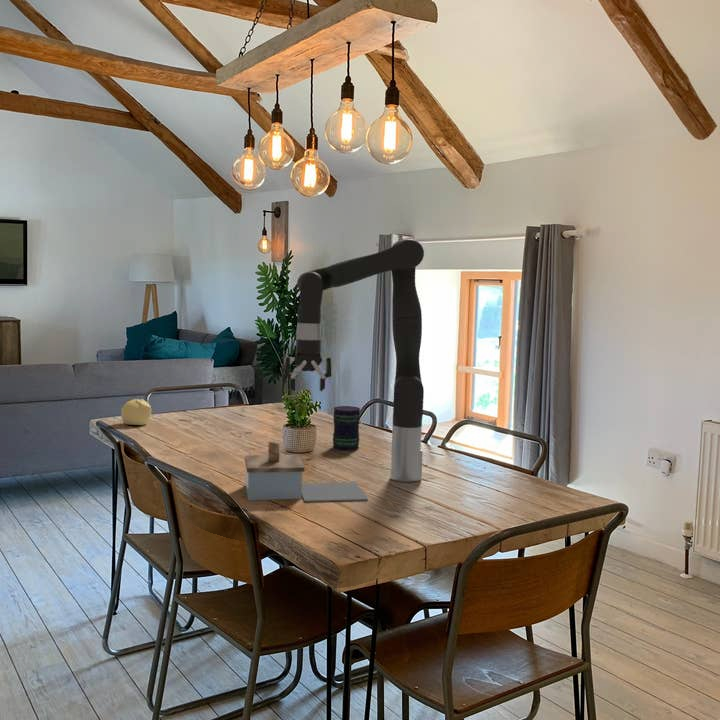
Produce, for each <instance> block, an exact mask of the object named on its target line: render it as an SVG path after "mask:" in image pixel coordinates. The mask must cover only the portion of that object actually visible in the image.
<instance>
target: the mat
mask: <svg viewBox="0 0 720 720" xmlns="http://www.w3.org/2000/svg"><path fill="white" fill-rule="evenodd" d="M301 498H302V499H303V501H304V503H328V502H334V503H335V502H365V501H367V502H368V500H369V499H368V497H367V496H366V495H365V493H364V491H363V490H362V488H360V486H359V485H358V483H357V482H355V481H354V482H353V481H352V482H351V481H350V482H310V483H309V482H308V483H307V482H304V483H303V482H302V495H301Z"/></svg>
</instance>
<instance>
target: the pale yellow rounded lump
mask: <svg viewBox="0 0 720 720" xmlns="http://www.w3.org/2000/svg"><path fill="white" fill-rule="evenodd" d="M152 411H153V410H152V406H151V405H150V404H149V402H147V401H146V400H145V399H143V398H139V399H138V398H133V399H132V400H129V401H126V403H124V404H123V406H122V408H121V413H120V414H121V416H120V417H121V420H122V422H123V423H124V424H125V425H132V426H145V425H146V424H147V423H148V422H150V420H151V416H152Z"/></svg>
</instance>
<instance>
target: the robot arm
mask: <svg viewBox="0 0 720 720" xmlns="http://www.w3.org/2000/svg"><path fill="white" fill-rule="evenodd" d="M424 255H425V251H424V247H423V246H422V244H421V243H420V242H419V241H417V240H415V239H414V238H413V239H411V238H405V239H399V240H398V241H397V240H396V242H394V244H392V245H391V247H389V248H386V249H385V250H380V251H378V252H376V253H372V254H367V255H364V256H358V257H354V258H351V259H347V260H343V261H340V262H337V263H334V264H331V265H329V266H326V267H321V268H318V269H312V270H310V271H305V272H303V273H302V274H300V275H299V277H298V278H297V282H296V283H297V284H296V285H297V288H298V290H299V305H298V309H297V325H296V339H295V356H294V357H292V356H285V358H284V370H283V375H284V376H285V377H287V378H289V388H290V389H291V391H292V392H296V379H295V378H296V377H297V376H298V375H299V373H300V372H314V371H315V372H317V374H318V375H319V377H320V378H319V391H320V392H323V390H325V389H326V379H328V378H330V377H332V358H331V357H329V356H326V357H322V355H321V354H322V353H321V351H322V348H321V347H322V346H321V345H322V324H321V322H322V321H321V319H322V307H321V306H322V300H323V293H324V291H326V290H328V289H332V288H339V287H343V286H345V285H346V286H347V285H350V284H353V283H355V282H359V281H361V280H364V279H365V280H366V279H367V278H369V277H372V276H376V275H379V274H383V273H387V272H390V271H391V279H392V280H391V281H392V297H391V298H392V299H391V300H392V309H391V310H392V313H391V314H392V315H391V316H392V319H391V321H392V323H391V324H392V338H393V346H394V351H395V360H396V361H395V378H394V384H393V402H392V403H393V405H392V408H393V409H392V431H391V433H392V434H391V455H390V456H391V458H390V462H391V463H390V478H391V480H393V481H396V482H401V483H402V482H403V483H412V482H413V483H414V482H417V481H422V480H423V479H422V478H423V454H424V453H423V450H422V433H423V430H422V428H423V427H422V426H423V415H424V414H423V413H424V399H425V398H424V396H425V395H424V394H425V391H424V385H423V382H422V375H421V368H420V367H421V366H420V353H421V346H422V345H421V344H422V336H423V335H422V334H423V333H422V332H423V323H422V322H423V315H422V307H421V302H420V298H419V296H418V295H419V294H418V291H417V286H416V269H417V268H416V267H417V266H419V265H420V264H421V263H422V261H423V260H424ZM293 362H294V363H295V364H296V366H295V367H294V369H293V371H292V372H291V373H290V365H292V364H293ZM322 362H323V364H324V365H325V373H324V372H323V371H322V369H321V368H320V367H319V366H320V364H321V363H322Z"/></svg>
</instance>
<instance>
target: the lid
mask: <svg viewBox="0 0 720 720" xmlns="http://www.w3.org/2000/svg"><path fill="white" fill-rule="evenodd" d="M280 443H281V442H280V441H276V440H275V441H273V440H272V441H268V446H267V447H268V448H267V449H268V452H267V454H244V463H245V470H246V469H247V473H253V472H302V473H303V472H305V468H306V467H305V466H304V464H303V461H302V460H301V458H300V456H299V454H280V451H281V450H280V449H281V448H280V447H281V446H280V445H281V444H280Z"/></svg>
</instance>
